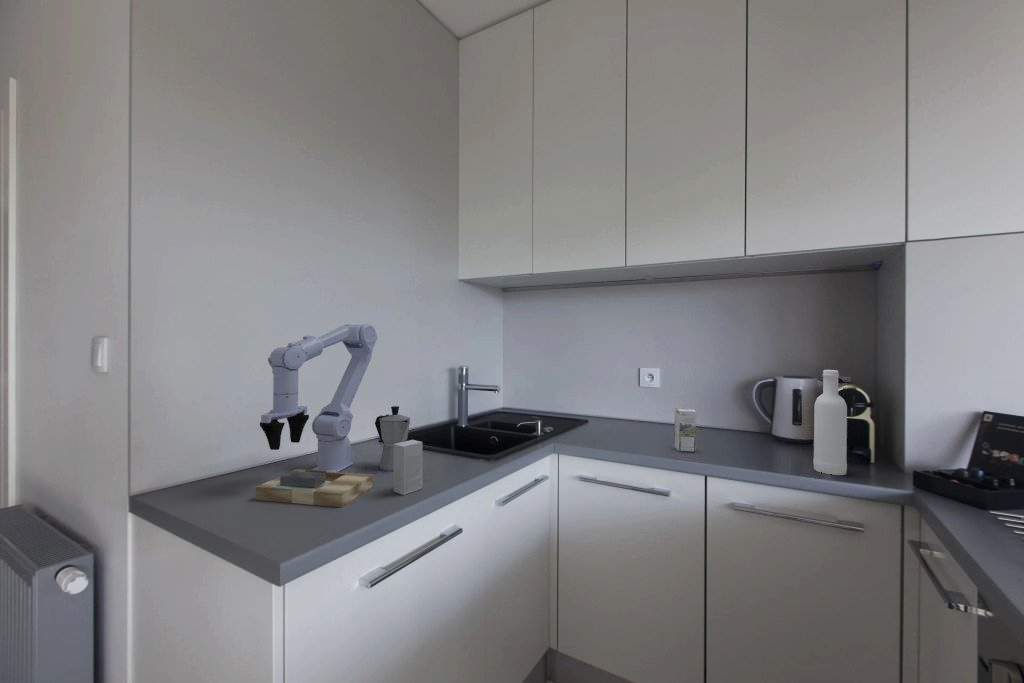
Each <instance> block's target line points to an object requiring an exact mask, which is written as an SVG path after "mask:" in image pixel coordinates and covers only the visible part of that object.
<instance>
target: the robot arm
mask: <svg viewBox="0 0 1024 683" xmlns="http://www.w3.org/2000/svg"><path fill="white" fill-rule="evenodd" d="M377 340H378V335H377V331H376V328H375V327H374V326H373V325H372V324H369V323H366V324H349V323H348V324H344V325H341V326H340V325H339V326H338V327H337V328H335V329H333V330H331V331H329V332H327V333H325V334H323V335H321V336H318V337H317V336H314V335H303V337H302V339H300V340H298V341H296V342H288V343H287V346H286V347H283V346H279V347H276V348H274V349H273V351H271V353H270V355H269V357H267V361H268V364H269V367H271V371H272V374H273V375H272V376H273V377H272V378H273V379H272V380H273V382H272V384H273V387H272V388H273V389H272V396H273V397H272V400H273V401H272V409H269V412H266V413H264V414H260V415H261V417H260V419H261V420H260V422H259V426H260V428H261V429H262V431H263V432H264V434H265V437H266V440H267V442H268V446H269V450H270V451H273V450H274V451H278V450H280V447H281V439H282V433H283V429H284V427H285V424H286V423H285V422H280V421H279V420H282V419H286V420H287V423H288V427H289V440H290V442H291V443H297V444H298V443H300V442H301V438H302V436H303V432H304V428H305V425H306V424H307V422H308V420H309V419H310V415H309V414H308V406H306V405H305V406H304V405H299V369H300V368H301V367H302V366H303V365H304V363H305V362H308V361H310V360H312V359H315V358H316V357H318V356H320V355H321V354H323V351H324V349H326V348H329V347H331V346H333V345H337V344H339V343H341V342H342V344H343V345H344V347H345V348H346V350H347V351H348V353H349V354H350V356H351V358H350V359H349V362H348V365H347V367H346V368H345V371H344V373H343V376H342V378H341V380H340V382H339V384H338V386H337V389H336V390H335V393H334V394H333V397H332V399H331V401H330V403H328V404H327V405H325V406H324V407H322V408H321V409H320V411H319V413H318V414H317V415H316V416H315V417H314V419H313V421H312V423H311V429H312V432H313V434H314V435H316V439H317V466H316V467H314V468H312V469H310V470H320V471H329V472H341V471H343V470H344V469H347V468H348V467H350V466H353V465H354V462H352V444H351V440H350V438H349V437H348V435H349V433H350V431H351V429H352V428H351V427H352V420H353V418H354V414H352V411H351V410H350V408H351V405H352V403H353V402H354V401H353V400H354V398H355V396H356V394H357V391H358V390H359V387H360V385H361V383H362V380H363V378H364V376H365V373H366V372H367V370H368V366H369V364H370V362H371V360H372V357H373V350H374V347H375V344H376V342H377Z"/></svg>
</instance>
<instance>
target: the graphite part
mask: <svg viewBox="0 0 1024 683" xmlns="http://www.w3.org/2000/svg"><path fill="white" fill-rule="evenodd" d="M325 474H326V473H314V472H299V471H293V470H291V471H288V472H287V473H284V474H282V475H280V476H279V477H280V486H293V487H307V488H316V487H318V486H320V485H322V484H323V483H325Z"/></svg>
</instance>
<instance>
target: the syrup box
mask: <svg viewBox="0 0 1024 683" xmlns="http://www.w3.org/2000/svg"><path fill="white" fill-rule="evenodd" d="M673 438H674V441H673V444H674V445H673V447H674V449H675V450H677V451H678V452H682V453H696V449H697V448H696V446H697V443H696V441H697V439H696V438H697V411H696V410H695V409H693V408H691V407H689V408H687V407H686V408H683V407H676V408H674V437H673Z"/></svg>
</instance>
